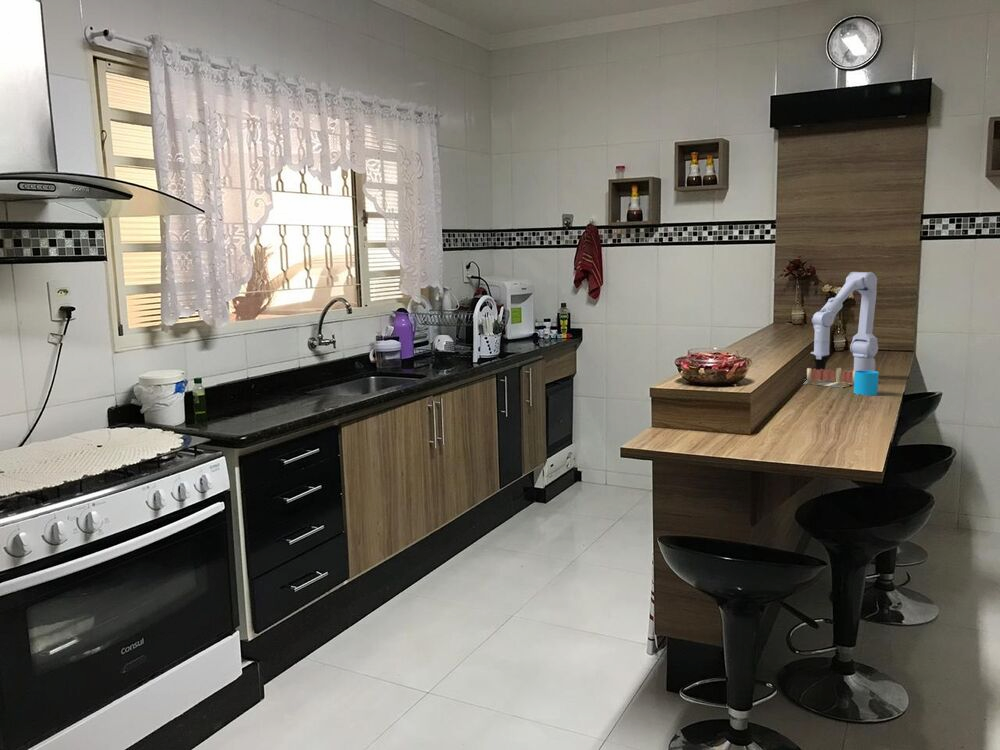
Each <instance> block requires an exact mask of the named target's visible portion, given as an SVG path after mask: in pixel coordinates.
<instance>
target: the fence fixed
mask: <svg viewBox="0 0 1000 750" xmlns="http://www.w3.org/2000/svg"><path fill="white" fill-rule="evenodd" d="M835 378H836V382H841V378H842V381H844V382H845V383H847V382H849V383H852V384H854V378H855V371H853V370H848V369H847V370H846V369H845V370H842V367H836V368H835Z"/></svg>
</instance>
